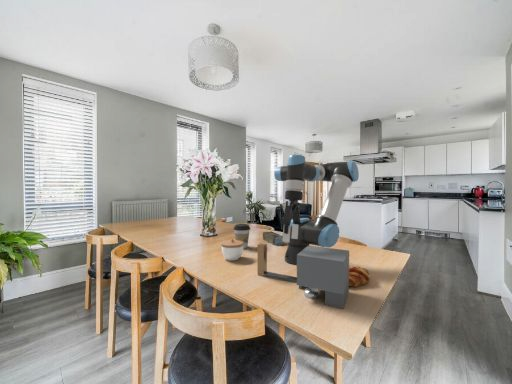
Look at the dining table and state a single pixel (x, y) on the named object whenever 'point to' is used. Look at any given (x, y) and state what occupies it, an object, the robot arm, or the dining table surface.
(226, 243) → the lidded bowl
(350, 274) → the croissant
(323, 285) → the grey l-shaped block
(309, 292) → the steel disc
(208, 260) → the dining table surface
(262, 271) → the hook tool
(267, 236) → the beverage carton
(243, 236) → the coffee cup
